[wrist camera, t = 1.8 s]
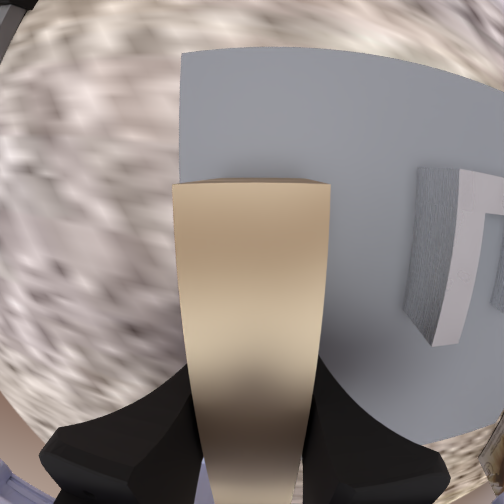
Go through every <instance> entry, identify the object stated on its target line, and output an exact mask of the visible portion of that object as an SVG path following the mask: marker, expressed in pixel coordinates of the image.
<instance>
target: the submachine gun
mask: <svg viewBox="0 0 504 504" xmlns="http://www.w3.org/2000/svg"><path fill="white" fill-rule="evenodd" d="M37 1H38V0H0V64H1V61H2V59H3V57H4V55H5V53H6V50H7V48H8V46H9V44H10V42H11V40H12V38H13V36H14V34H15V32H16V30H17V28H18V26H19V24H20V22H21V20H22V18H23V16H24V14H25V12H26V10H32V9H33V8H34V6H35V4H36V3H37Z"/></svg>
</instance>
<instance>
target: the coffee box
mask: <svg viewBox="0 0 504 504" xmlns="http://www.w3.org/2000/svg"><path fill="white" fill-rule="evenodd" d="M478 460H479V462H480V464H481V466H482V468H483V470H484V472H485V474H486V476H487V478H488V480H489V482H490V484H491V487H492V489H493V491H494V493H495V495H496V498H497V497H498V496H499V495H500V494H501V493H503V492H504V415H503V417H502V419H501V421H500V423H499V424H498V426H497V428H496V430H495V432H494V433H493V435H492V437H491V439H490V440H489V442H488V444H487V445H486V447H485V449H484V450H483V452H482V453H481V455H480V456H479V458H478Z"/></svg>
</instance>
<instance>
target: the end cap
mask: <svg viewBox="0 0 504 504" xmlns="http://www.w3.org/2000/svg"><path fill="white" fill-rule="evenodd" d="M485 213H490V214H498V215H504V178H503V177H499V176H494V175H489V174H485V173H480V172H475V171H469V170H464V169H455V168H425V167H417V184H416V204H415V217H414V229H413V239H412V247H411V255H410V263H409V270H408V276H407V283H406V289H405V294H404V300H403V305H402V310H403V311H404V313H405V314H406V315H407V316H408V318H409V319H410V320H411V321H412V323H413V324H414V325H415V326H416V328H417V329H418V330H419V332H420V333H421V334H422V335H423V337H424V338H425V339H426V341H427V342H428V343H429V345H430V346H431V347H435V346H443V345H451V344H458V342H459V339H460V336H461V333H462V330H463V326H464V323H465V319H466V316H467V312H468V308H469V304H470V300H471V296H472V292H473V288H474V283H475V278H476V273H477V268H478V263H479V257H480V251H481V245H482V237H483V230H484V221H485ZM490 304H491V305H493V306H494V307H495V308H497V309H498V310H499V311H500V312H502V313H503V314H504V232H503V240H502V246H501V252H500V258H499V264H498V269H497V274H496V278H495V283H494V287H493V292H492V296H491V300H490Z"/></svg>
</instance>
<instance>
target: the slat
mask: <svg viewBox="0 0 504 504" xmlns="http://www.w3.org/2000/svg"><path fill="white" fill-rule="evenodd" d="M330 192H331V184H327V183H323V182H319V181H315V180H310V179H306V178H216V179H208V180H201V181H193V182H186V183H179V184H173V185H172V195H173V218H174V236H175V252H176V265H177V277H178V288H179V299H180V309H181V318H182V326H183V335H184V343H185V350H186V358H187V365H188V372H189V378H190V385H191V391H192V397H193V403H194V409H195V415H196V420H197V426H198V431H199V436H200V441H201V446H202V451H203V456H204V460H205V465H206V469H207V474H208V478H209V482H210V487H211V491H212V495H213V499H214V503H215V504H291V500H292V496H293V492H294V488H295V484H296V479H297V475H298V470H299V465H300V461H301V456H302V451H303V446H304V440H305V435H306V430H307V424H308V418H309V413H310V407H311V400H312V394H313V388H314V381H315V374H316V367H317V359H318V351H319V343H320V335H321V326H322V316H323V306H324V296H325V284H326V271H327V257H328V241H329V221H330Z"/></svg>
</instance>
